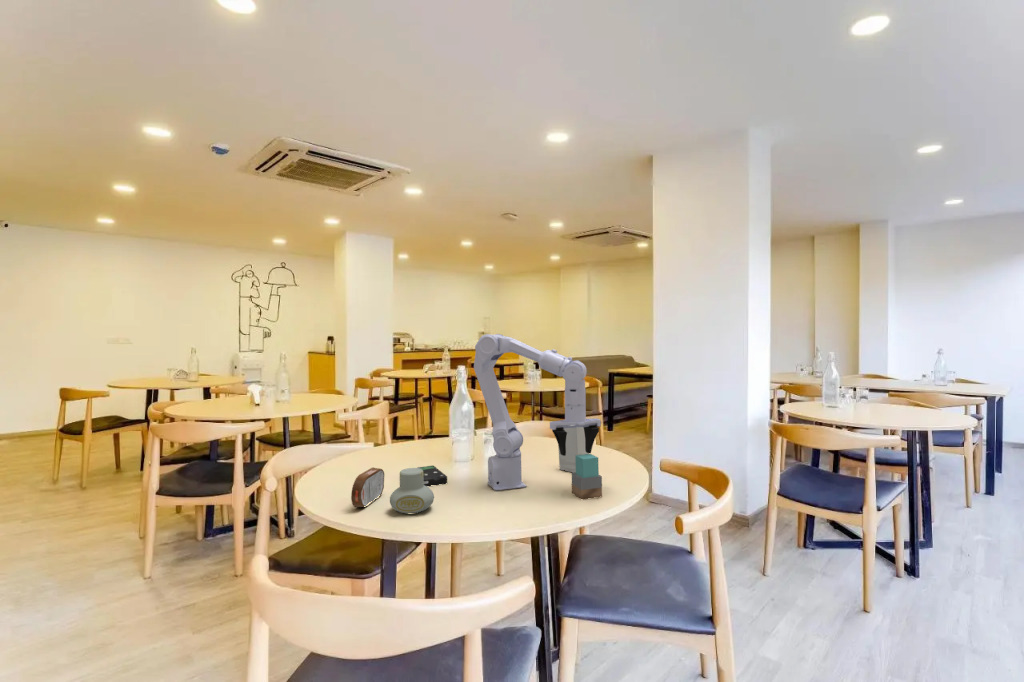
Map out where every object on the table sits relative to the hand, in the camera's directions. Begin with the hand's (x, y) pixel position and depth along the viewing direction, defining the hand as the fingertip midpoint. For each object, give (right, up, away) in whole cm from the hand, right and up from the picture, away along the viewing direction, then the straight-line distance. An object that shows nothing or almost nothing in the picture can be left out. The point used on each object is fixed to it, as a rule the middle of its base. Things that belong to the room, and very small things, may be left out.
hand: (575, 453), depth 140 cm
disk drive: (-44, -12, +14) cm, 48 cm away
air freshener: (-43, -12, -13) cm, 46 cm away
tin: (-55, -12, -6) cm, 57 cm away
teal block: (+3, -5, -4) cm, 7 cm away
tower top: (+2, -8, -4) cm, 9 cm away
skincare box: (+2, -10, +21) cm, 24 cm away
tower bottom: (+2, -11, -4) cm, 12 cm away
